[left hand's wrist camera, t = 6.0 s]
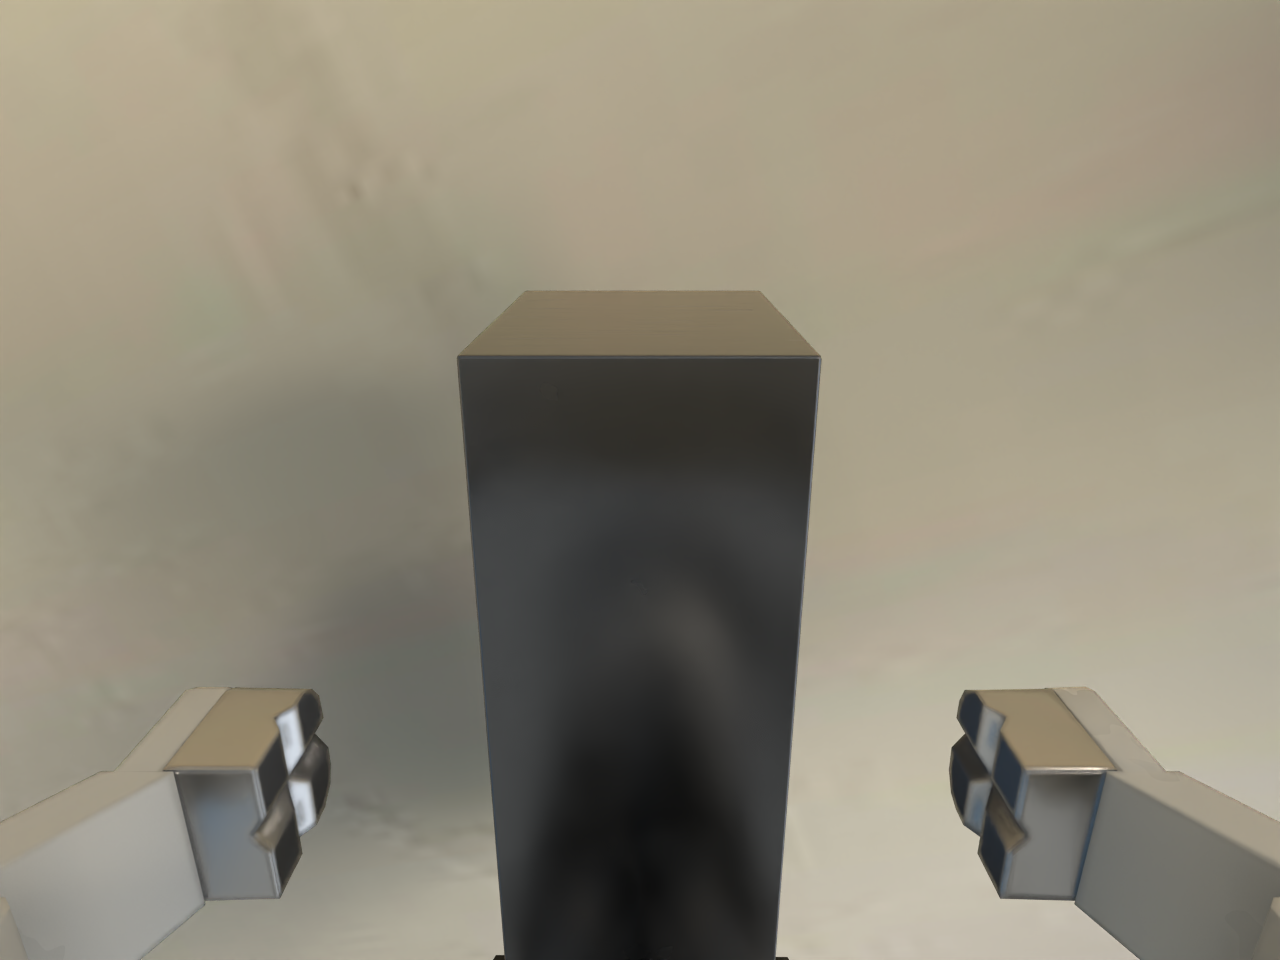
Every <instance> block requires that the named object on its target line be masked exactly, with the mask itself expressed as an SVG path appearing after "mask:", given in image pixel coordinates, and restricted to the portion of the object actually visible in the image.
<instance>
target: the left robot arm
mask: <svg viewBox="0 0 1280 960" xmlns="http://www.w3.org/2000/svg"><path fill="white" fill-rule="evenodd" d="M322 719H323V713H322V708H321V703H320V698H319V695H318V694H317V693H316V692H315V691H314V690H312V689H288V688H241V687H236V688H230V687H196V688H193V689H189V690H186V691H185V692H184V693H183V694H182V695H181V696H180V697H179V698H178V700H177V701H176V702H175V703H174V704H173V705H172V706H171V708H170V709H169V710H168V711H167V712H166V713H165V714H164V715H163V717H162V718H161V719H160V720H159V721H158V722H157V723H156V724H155V726H154V727H153V728H152V729H151V730H150V731H149V732H148V733H147V735H146V736H145V737H144V738H143V739H142V740H141V741H140V742H139V744H138V745H137V746H136V747H135V748H134V749H133V750H132V751H131V753H130V754H129V755H128V756H127V757H126V758H125V759H124V761H123V762H122V763H121V764H120V765H119V766H118V767H117V768H116V770H115V771H101V772H99V773H97V774H95V775H93V776H91V777H89V778H87V779H85V780H83V781H81V782H79V783H77V784H75V785H73V786H71V787H69V788H67V789H65V790H63V791H61V792H59V793H57V794H55V795H53V796H51V797H49V798H47V799H45V800H43V801H41V802H39V803H37V804H35V805H33V806H31V807H29V808H27V809H25V810H23V811H21V812H19V813H17V814H15V815H13V816H11V817H9V818H7V819H5V820H3V821H2V822H0V960H140V959H141V958H143V957H144V956H145V955H146V954H147V953H149V952H150V951H151V950H152V949H153V948H154V947H156V946H157V945H158V944H159V943H160V942H162V941H163V940H164V939H165V938H166V937H168V936H169V935H170V934H171V933H172V932H173V931H175V930H176V929H177V928H178V927H179V926H181V925H182V924H183V923H184V922H185V921H186V920H188V919H189V918H190V917H191V916H192V915H194V914H195V913H196V912H197V911H198V910H200V909H201V908H202V907H203V906H204V905H205V901H209V900H243V899H278V898H280V897H281V895H282V893H283V891H284V889H285V887H286V885H287V883H288V881H289V879H290V877H291V875H292V873H293V871H294V869H295V867H296V865H297V863H298V861H299V859H300V857H301V855H302V848H301V842H300V836H302V835H303V834H304V833H306V832H307V831H309V830H310V829H311V828H313V827H314V826H316V825H317V823H318V821H319V819H320V816H321V814H322V812H323V810H324V808H325V805H326V800H327V796H328V791H329V787H330V774H331V763H330V756H329V749H328V747H327V746H326V745H325V744H324V743H323V741H322V740H321V739H320V738H319V737H318V736H317V735H316V734H315V732H316V730H317V728H318V727H319V725H320V723H321V721H322ZM957 719H958V721H959V723H960V725H961V727H962V728H963V730H964V732H965V734H964V735H963V736H962V737H961V738H960V739H959V740H958V741H957V742H956V744H955V745H954V746H953V747H952V749H951V758H950V766H949V775H950V786H951V794H952V797H953V801H954V804H955V808H956V810H957V812H958V814H959V817H960V819H961V821H962V823H963V825H964V826H966V827H967V828H969V829H970V830H971V831H973V832H974V833H976V834H977V835H978V836H980V842H979V848H978V855H979V857H980V859H981V861H982V863H983V865H984V867H985V869H986V871H987V873H988V875H989V877H990V879H991V881H992V883H993V885H994V887H995V889H996V891H997V893H998V895H999V897H1000V899H1035V900H1071V901H1075V905H1076V906H1077V907H1079V908H1080V909H1081V910H1082V911H1083V912H1084V913H1086V914H1087V915H1088V916H1089V917H1090V918H1092V919H1093V920H1094V921H1095V922H1096V923H1097V924H1099V925H1100V926H1101V927H1102V928H1103V929H1105V930H1106V931H1107V932H1108V933H1109V934H1110V935H1112V936H1113V937H1114V938H1115V939H1116V940H1118V941H1119V942H1120V943H1121V944H1122V945H1123V946H1125V947H1126V948H1127V949H1128V950H1129V951H1131V952H1132V953H1133V954H1134V955H1135V956H1136V957H1138V958H1139V959H1140V960H1280V822H1278V821H1276V820H1274V819H1272V818H1270V817H1268V816H1266V815H1264V814H1262V813H1260V812H1258V811H1256V810H1254V809H1252V808H1251V807H1249V806H1247V805H1245V804H1243V803H1241V802H1239V801H1237V800H1235V799H1233V798H1231V797H1229V796H1227V795H1225V794H1223V793H1221V792H1219V791H1217V790H1215V789H1213V788H1211V787H1209V786H1207V785H1205V784H1203V783H1201V782H1199V781H1197V780H1195V779H1193V778H1191V777H1189V776H1187V775H1185V774H1183V773H1181V772H1179V771H1165V770H1164V768H1163V767H1162V766H1161V765H1160V764H1159V763H1158V762H1157V761H1156V759H1155V758H1154V757H1153V756H1152V755H1151V754H1150V753H1149V752H1148V750H1147V749H1146V748H1145V747H1144V746H1143V745H1142V744H1141V743H1140V741H1139V740H1138V739H1137V738H1136V737H1135V736H1134V735H1133V733H1132V732H1131V731H1130V730H1129V729H1128V728H1127V727H1126V726H1125V724H1124V723H1123V722H1122V721H1121V720H1120V719H1119V718H1118V717H1117V715H1116V714H1115V713H1114V712H1113V711H1112V710H1111V709H1110V708H1109V706H1108V705H1107V704H1106V703H1105V702H1104V701H1103V700H1102V699H1101V697H1100V696H1099V695H1098V694H1097V693H1096V692H1095V691H1093V690H1091V689H1089V688H1087V687H1060V688H1045V689H1002V690H965V691H964V693H963V695H962V697H961V699H960V701H959V707H958V712H957Z"/></svg>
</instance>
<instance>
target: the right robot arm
mask: <svg viewBox="0 0 1280 960" xmlns="http://www.w3.org/2000/svg"><path fill="white" fill-rule="evenodd" d="M493 960H505V955H496V956H495V958H494V959H493ZM775 960H789V959H788V957H775Z"/></svg>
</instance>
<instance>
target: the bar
mask: <svg viewBox="0 0 1280 960" xmlns="http://www.w3.org/2000/svg"><path fill="white" fill-rule="evenodd" d="M457 367H458V379H459V392H460V404H461V417H462V429H463V442H464V454H465V467H466V479H467V492H468V504H469V517H470V529H471V542H472V554H473V567H474V579H475V592H476V604H477V617H478V629H479V642H480V654H481V667H482V679H483V692H484V704H485V717H486V729H487V742H488V754H489V767H490V779H491V792H492V804H493V817H494V829H495V842H496V854H497V867H498V879H499V892H500V904H501V917H502V929H503V942H504V954H505V960H775V957H776V944H777V931H778V918H779V905H780V892H781V879H782V866H783V853H784V840H785V827H786V814H787V801H788V788H789V775H790V762H791V749H792V736H793V723H794V710H795V697H796V683H797V670H798V657H799V644H800V631H801V618H802V605H803V592H804V579H805V566H806V553H807V540H808V527H809V514H810V501H811V488H812V475H813V462H814V449H815V436H816V423H817V410H818V397H819V384H820V371H821V356H820V355H819V354H818V353H817V352H816V351H815V350H814V349H813V347H812V346H811V345H810V344H809V343H808V342H807V341H806V340H805V339H804V338H803V337H802V336H801V335H800V334H799V332H798V331H797V330H796V329H795V328H794V327H793V326H792V325H791V324H790V323H789V322H788V321H787V320H786V318H785V317H784V316H783V315H782V314H781V313H780V312H779V311H778V310H777V309H776V308H775V307H774V306H773V305H772V303H771V302H770V301H769V300H768V299H767V298H766V297H765V296H764V295H763V294H762V293H761V292H760V291H525V292H524V293H523V294H522V295H521V296H520V297H519V298H518V299H517V300H516V301H514V302H513V303H512V304H511V305H510V306H509V307H508V308H507V309H506V310H505V311H504V312H503V313H502V314H501V315H500V316H499V317H498V318H497V319H496V320H495V321H494V322H493V323H491V324H490V325H489V326H488V327H487V328H486V329H485V330H484V331H483V332H482V333H481V334H480V335H479V336H478V337H477V338H476V339H475V340H474V341H473V342H472V343H471V344H469V345H468V346H467V347H466V348H465V349H464V350H463V351H462V352H461V353H460V354H459V355H458V356H457Z"/></svg>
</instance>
